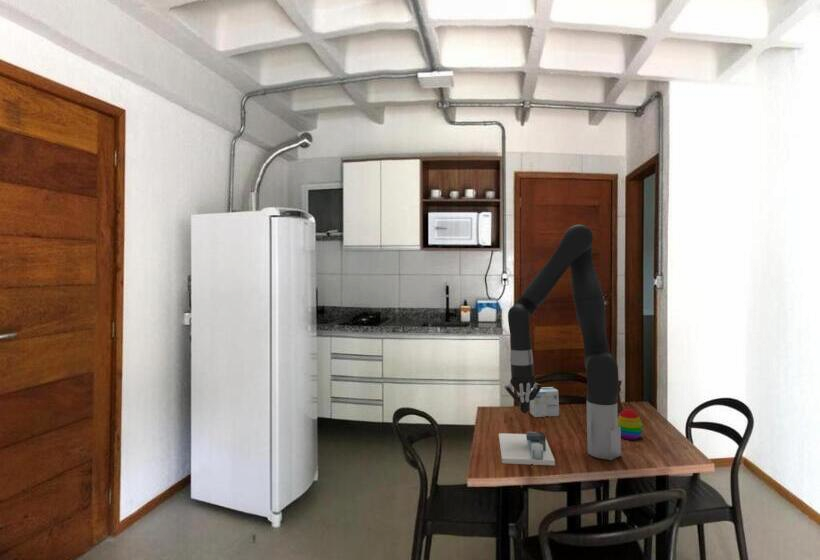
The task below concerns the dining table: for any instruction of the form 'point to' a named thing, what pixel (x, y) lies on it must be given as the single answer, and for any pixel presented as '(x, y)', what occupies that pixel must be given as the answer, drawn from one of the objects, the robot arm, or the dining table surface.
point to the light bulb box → (545, 403)
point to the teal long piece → (536, 449)
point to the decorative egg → (630, 424)
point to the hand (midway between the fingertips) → (524, 412)
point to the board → (521, 451)
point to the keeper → (537, 438)
